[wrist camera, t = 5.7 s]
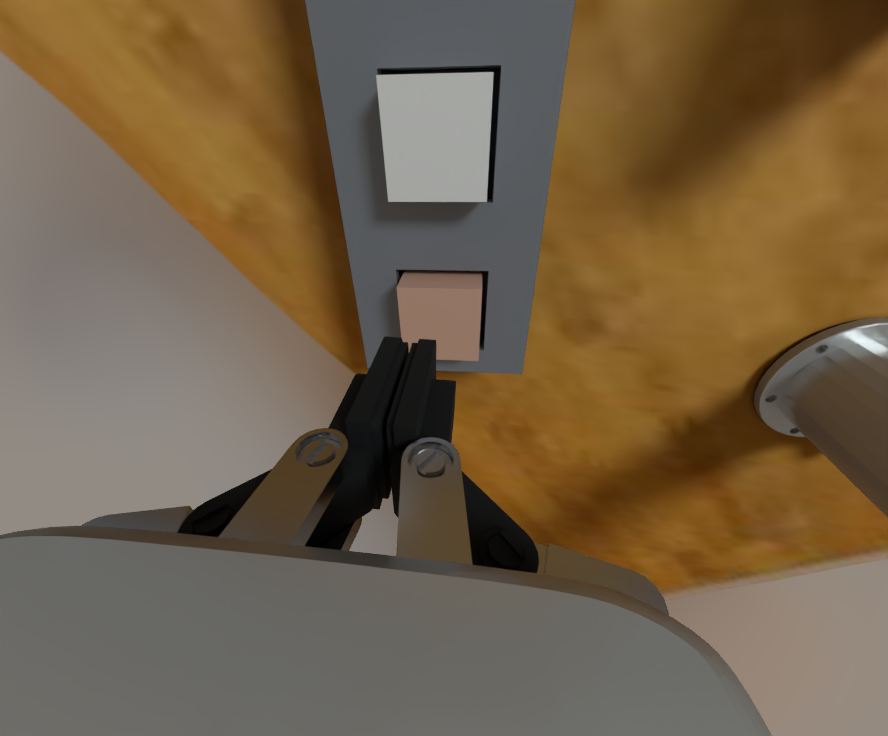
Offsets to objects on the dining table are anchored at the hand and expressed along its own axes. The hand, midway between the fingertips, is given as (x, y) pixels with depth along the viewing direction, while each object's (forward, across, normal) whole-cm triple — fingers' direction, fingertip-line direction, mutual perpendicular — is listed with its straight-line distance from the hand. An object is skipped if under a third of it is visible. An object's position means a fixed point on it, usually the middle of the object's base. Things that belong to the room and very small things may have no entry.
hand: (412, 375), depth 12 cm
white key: (+16, +1, -6) cm, 17 cm away
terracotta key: (+16, 0, +4) cm, 16 cm away
